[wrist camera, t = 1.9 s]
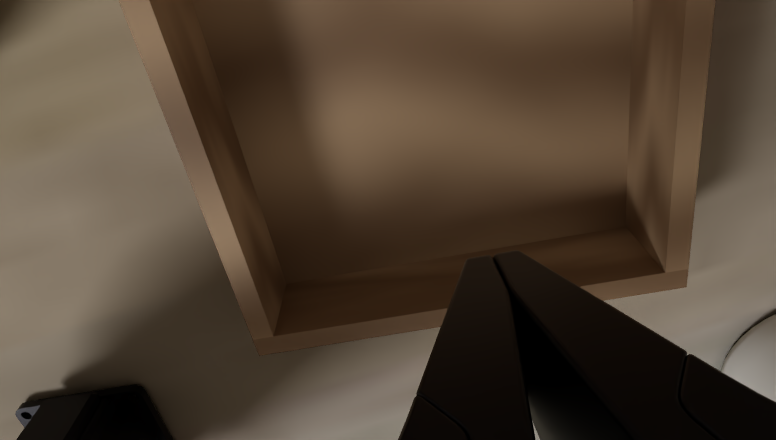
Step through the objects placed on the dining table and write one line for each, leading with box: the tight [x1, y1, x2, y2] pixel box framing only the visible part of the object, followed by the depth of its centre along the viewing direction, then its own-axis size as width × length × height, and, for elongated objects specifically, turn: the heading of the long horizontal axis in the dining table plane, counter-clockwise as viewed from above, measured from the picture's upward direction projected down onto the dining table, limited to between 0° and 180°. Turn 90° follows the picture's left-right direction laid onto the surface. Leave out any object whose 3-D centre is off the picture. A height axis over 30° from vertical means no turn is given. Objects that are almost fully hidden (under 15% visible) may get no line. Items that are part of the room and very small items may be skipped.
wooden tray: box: [119, 0, 716, 356], centre depth 17 cm, size 18×16×4 cm
